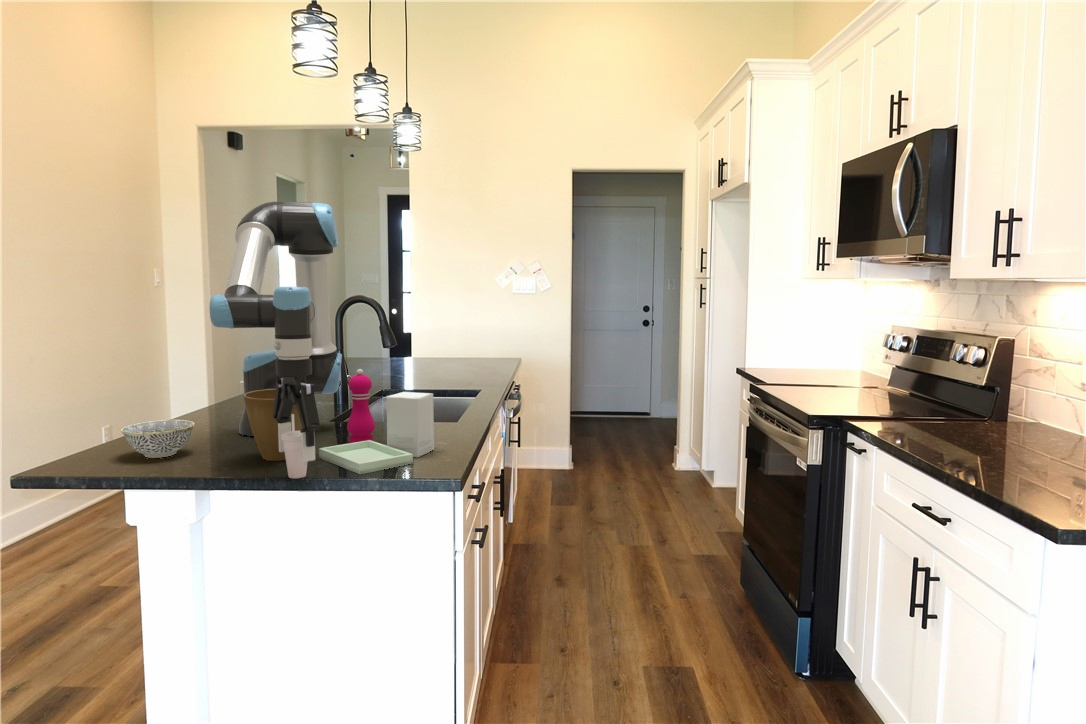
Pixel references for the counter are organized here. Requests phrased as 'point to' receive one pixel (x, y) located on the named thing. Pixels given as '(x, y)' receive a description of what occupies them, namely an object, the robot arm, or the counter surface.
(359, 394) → the pepper mill
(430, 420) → the supplement box
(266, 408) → the plant pot
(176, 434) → the bowl
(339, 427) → the counter surface
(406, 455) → the tray
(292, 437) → the smoothie
